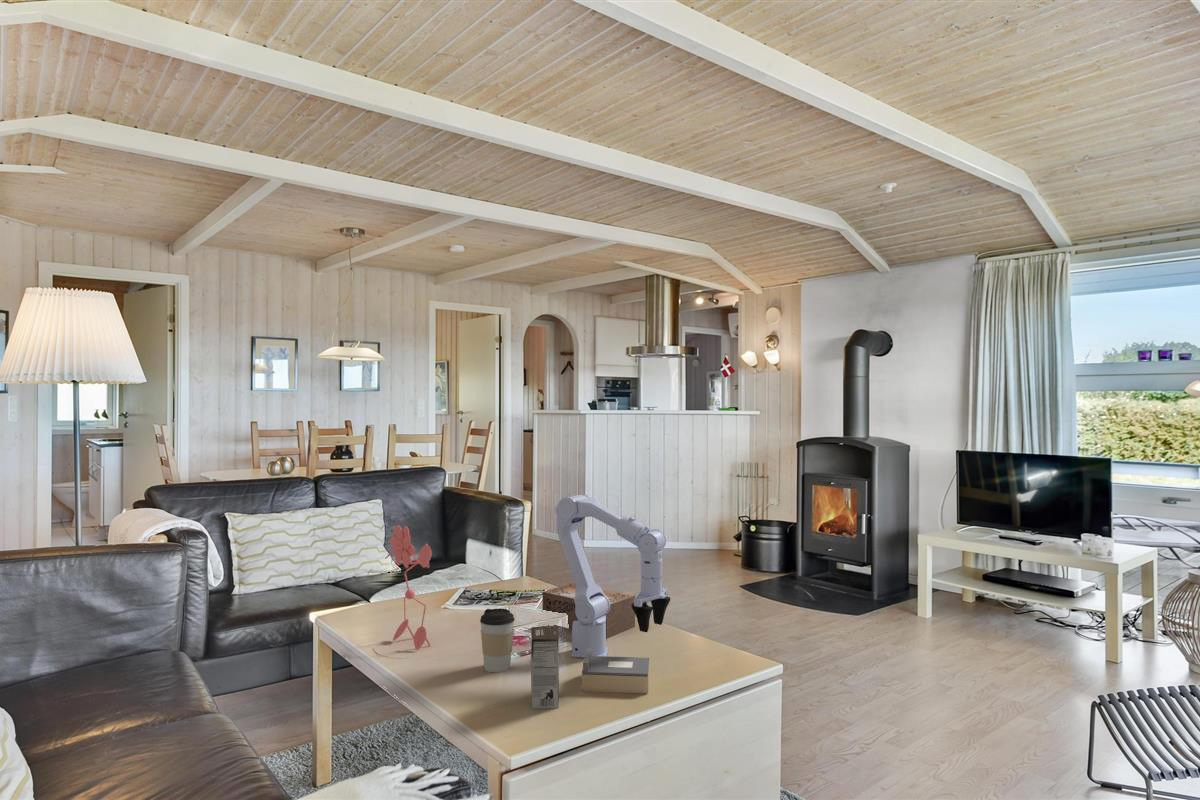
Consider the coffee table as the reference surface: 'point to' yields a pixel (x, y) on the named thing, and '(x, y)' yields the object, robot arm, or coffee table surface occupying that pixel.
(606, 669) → the lid
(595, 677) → the mailer box
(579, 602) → the robot arm
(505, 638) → the coffee cup
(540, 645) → the coffee box
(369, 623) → the coffee table surface
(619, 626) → the tissue box cover
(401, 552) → the figurine
